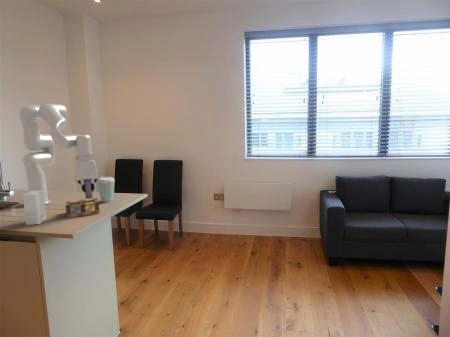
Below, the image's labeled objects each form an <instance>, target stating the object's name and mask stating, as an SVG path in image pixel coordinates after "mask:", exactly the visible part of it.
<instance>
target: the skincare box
mask: <svg viewBox="0 0 450 337" xmlns="http://www.w3.org/2000/svg"><path fill="white" fill-rule="evenodd" d="M22 199H23V202H22V203H23V210H24V217H25V218H24V219H25V225H26V226H32V225H33V226H34V225H35V224H38V225H41V224H42V223H43V222H45V221H46V220H47V215H46V214H47V213H46V212H47V211H46V206H45V205H46V204H45V203H44V193H43V190H35V191H29V190H28V191H27V192H25V193H23V194H22Z"/></svg>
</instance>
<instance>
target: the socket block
mask: <svg viewBox="0 0 450 337" xmlns="http://www.w3.org/2000/svg"><path fill="white" fill-rule="evenodd" d="M100 211H101V210H100V202H99V199H98V198H97V197H96V198H90V199H81V200H72V201H71V200H70V201H66V202H65V212H66V214H65V215H66V218H67V219H69V218H76V217H77V218H78V217H83V216H89V215H90V216H91V215H97V214H98V215H99V214H100V213H101V212H100Z"/></svg>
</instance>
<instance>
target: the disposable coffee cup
mask: <svg viewBox="0 0 450 337" xmlns="http://www.w3.org/2000/svg"><path fill="white" fill-rule="evenodd" d="M100 177H101V178H100V179H99V180H97V181H96V184H97V188H98V192H99V197H100V200H101V202H102V203H110V202H112V201H113V199H114V191H115V190H114V189H115V182H116V181H115V178H114V177H113V176H100Z"/></svg>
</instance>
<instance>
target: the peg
mask: <svg viewBox="0 0 450 337" xmlns="http://www.w3.org/2000/svg"><path fill="white" fill-rule="evenodd" d="M83 183H84V186H85V193H84V195H85V196H84V197H85V200H87V199H94V198H93V197H94V195H93V192H92V186H91V183H92V181H91V179H87V180H84V182H83Z"/></svg>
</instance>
